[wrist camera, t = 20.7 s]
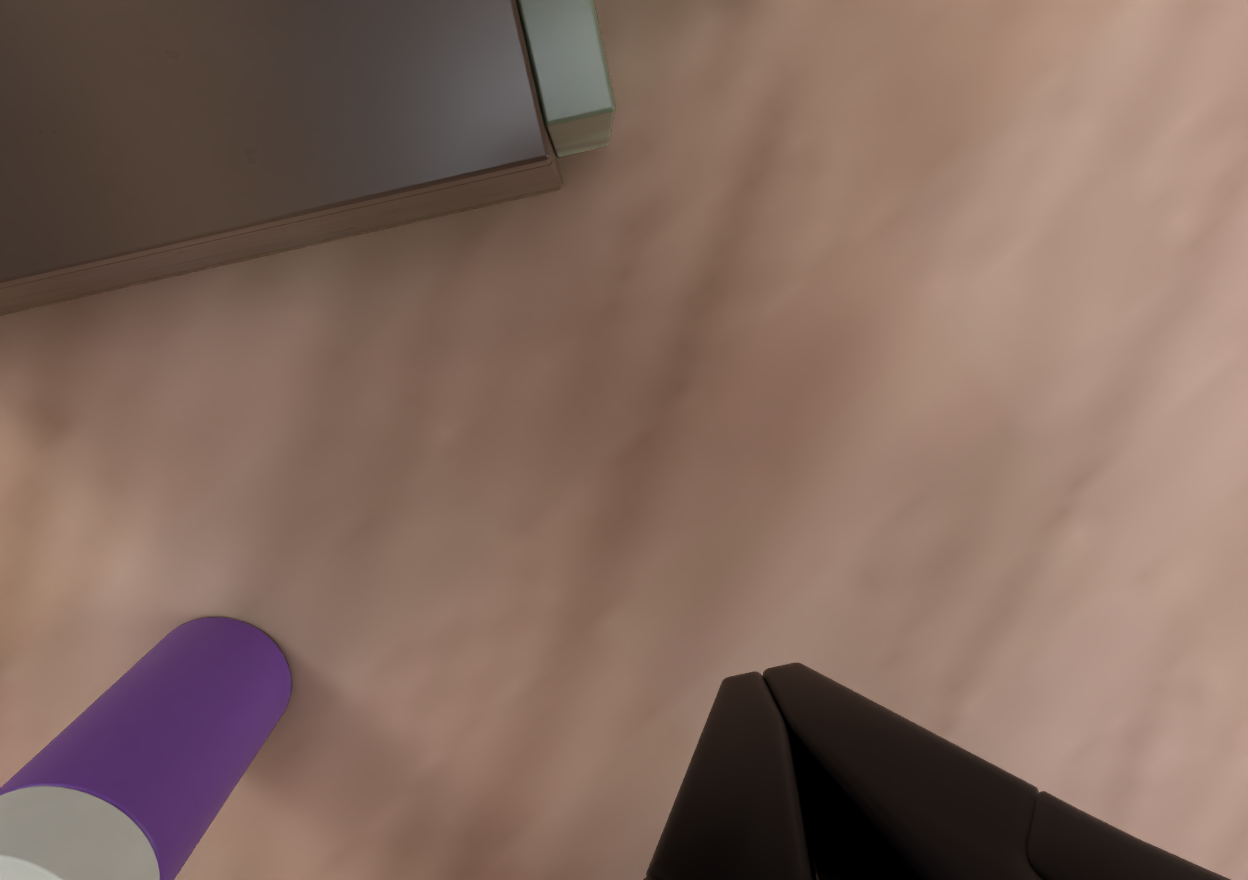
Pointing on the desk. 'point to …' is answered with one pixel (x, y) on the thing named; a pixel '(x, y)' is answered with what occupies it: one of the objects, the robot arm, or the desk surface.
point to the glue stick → (146, 760)
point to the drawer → (569, 72)
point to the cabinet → (248, 130)
